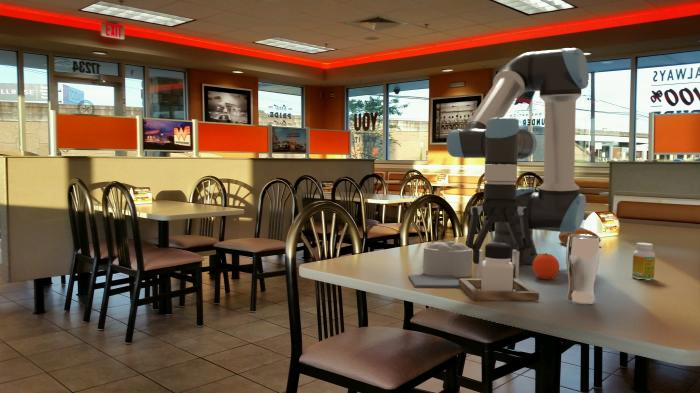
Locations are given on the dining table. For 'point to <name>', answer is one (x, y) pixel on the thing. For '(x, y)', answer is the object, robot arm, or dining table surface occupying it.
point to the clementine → (545, 266)
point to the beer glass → (582, 267)
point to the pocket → (521, 294)
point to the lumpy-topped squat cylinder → (447, 259)
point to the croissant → (581, 231)
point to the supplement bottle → (643, 261)
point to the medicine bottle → (497, 268)
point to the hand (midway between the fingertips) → (497, 277)
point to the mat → (435, 281)
